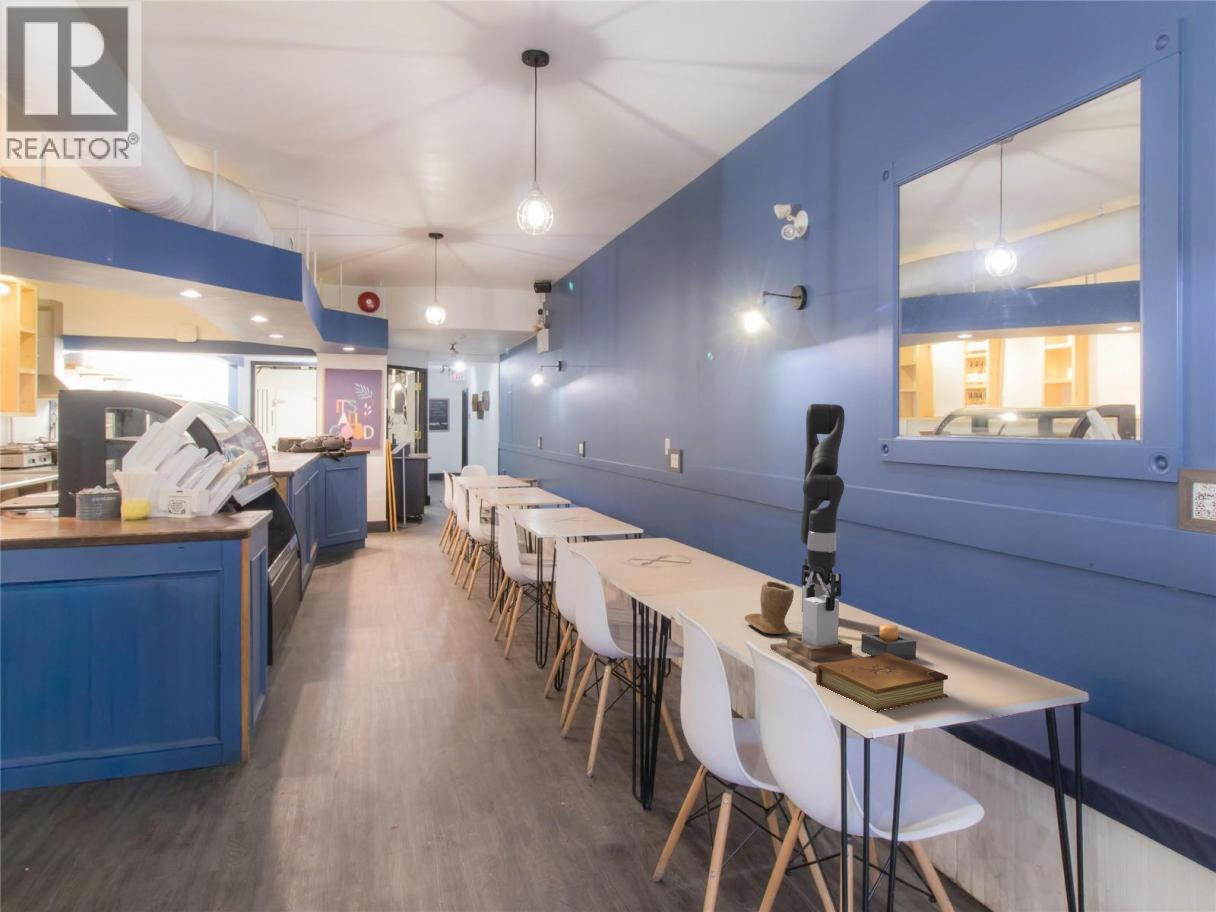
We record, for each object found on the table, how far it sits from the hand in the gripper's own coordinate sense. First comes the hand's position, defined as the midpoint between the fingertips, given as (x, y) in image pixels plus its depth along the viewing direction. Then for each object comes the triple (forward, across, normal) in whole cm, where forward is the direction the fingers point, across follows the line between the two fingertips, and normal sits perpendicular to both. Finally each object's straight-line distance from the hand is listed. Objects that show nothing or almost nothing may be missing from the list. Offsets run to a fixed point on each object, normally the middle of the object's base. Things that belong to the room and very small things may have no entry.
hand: (820, 606), depth 189 cm
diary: (+14, +25, -1) cm, 29 cm away
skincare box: (+13, 0, 0) cm, 13 cm away
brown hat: (+14, -27, +2) cm, 31 cm away
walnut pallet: (+14, 0, 0) cm, 14 cm away
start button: (+10, +4, +20) cm, 23 cm away
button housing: (+14, +4, +20) cm, 25 cm away
